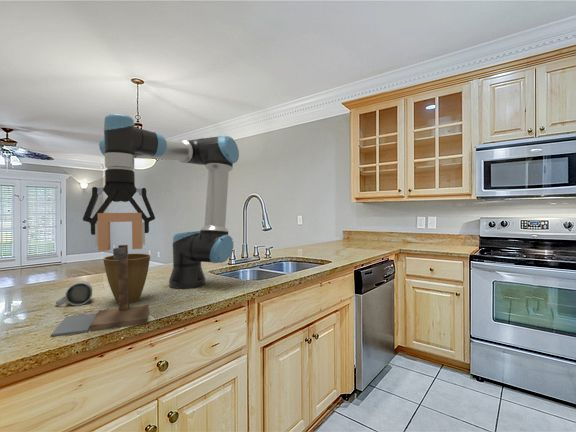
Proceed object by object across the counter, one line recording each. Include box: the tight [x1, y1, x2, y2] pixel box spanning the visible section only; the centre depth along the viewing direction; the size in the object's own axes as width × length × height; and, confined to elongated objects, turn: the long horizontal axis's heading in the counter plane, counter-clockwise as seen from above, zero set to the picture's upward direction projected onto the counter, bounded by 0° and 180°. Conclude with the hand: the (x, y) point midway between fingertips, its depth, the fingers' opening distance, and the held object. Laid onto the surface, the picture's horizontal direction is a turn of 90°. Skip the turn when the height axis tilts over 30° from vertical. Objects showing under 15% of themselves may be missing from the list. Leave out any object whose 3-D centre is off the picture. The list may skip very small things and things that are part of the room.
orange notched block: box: [97, 212, 143, 252], centre depth 90 cm, size 11×4×10 cm, turn 113°
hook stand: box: [89, 244, 149, 332], centre depth 91 cm, size 14×15×22 cm
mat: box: [50, 312, 98, 338], centre depth 87 cm, size 8×15×1 cm, turn 23°
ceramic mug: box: [55, 280, 93, 307], centre depth 108 cm, size 11×8×8 cm
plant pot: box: [102, 253, 151, 304], centre depth 111 cm, size 15×15×16 cm
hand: (121, 245), depth 90 cm, fingers closed on orange notched block, 11 cm apart
